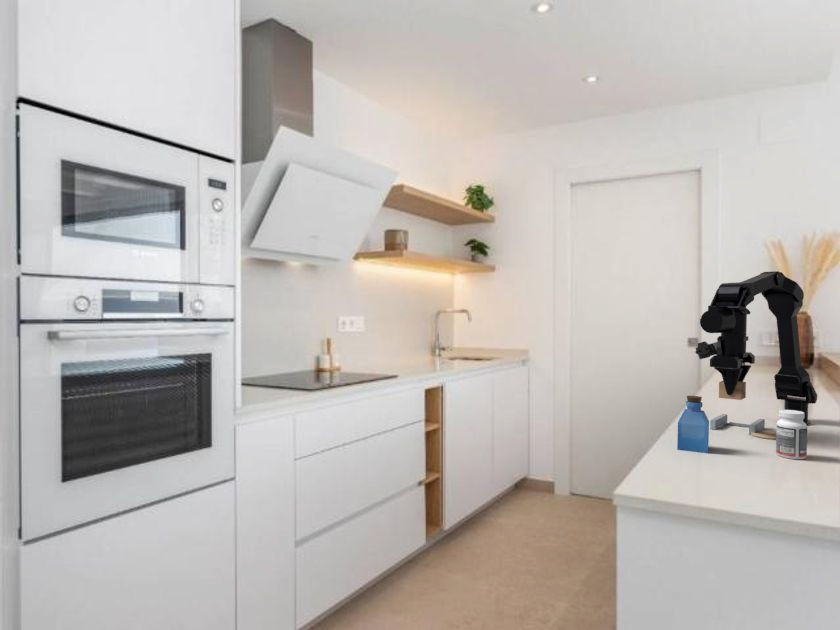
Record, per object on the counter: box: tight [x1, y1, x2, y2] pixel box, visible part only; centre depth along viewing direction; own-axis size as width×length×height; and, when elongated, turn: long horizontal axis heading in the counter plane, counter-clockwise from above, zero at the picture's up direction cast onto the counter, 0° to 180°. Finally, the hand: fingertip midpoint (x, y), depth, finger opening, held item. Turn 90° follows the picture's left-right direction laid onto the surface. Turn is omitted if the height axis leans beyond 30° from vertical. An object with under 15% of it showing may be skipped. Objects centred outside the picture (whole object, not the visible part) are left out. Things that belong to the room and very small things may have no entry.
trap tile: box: [726, 421, 750, 429], centre depth 160 cm, size 3×7×1 cm, turn 49°
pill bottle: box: [775, 409, 808, 460], centre depth 128 cm, size 6×6×10 cm
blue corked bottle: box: [676, 395, 710, 454], centre depth 134 cm, size 6×6×12 cm
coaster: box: [750, 429, 776, 441], centre depth 148 cm, size 8×8×1 cm
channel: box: [709, 413, 766, 436], centre depth 156 cm, size 12×10×2 cm
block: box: [718, 380, 747, 401], centre depth 148 cm, size 5×5×4 cm
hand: (732, 393), depth 148 cm, fingers closed on block, 5 cm apart
